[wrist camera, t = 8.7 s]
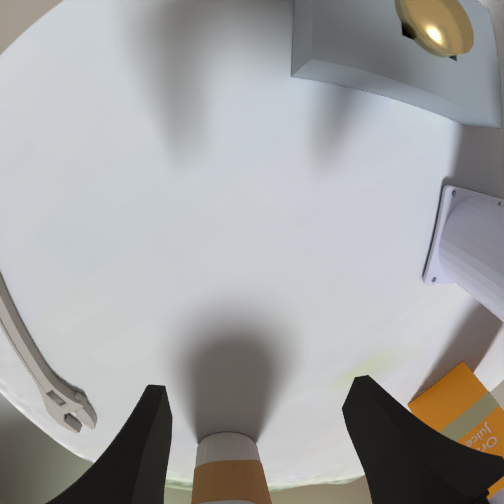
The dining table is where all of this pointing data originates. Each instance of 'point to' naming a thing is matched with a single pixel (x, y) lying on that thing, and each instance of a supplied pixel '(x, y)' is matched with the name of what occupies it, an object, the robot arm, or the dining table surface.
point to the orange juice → (464, 413)
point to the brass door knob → (436, 25)
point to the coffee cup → (229, 471)
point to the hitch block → (397, 58)
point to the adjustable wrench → (43, 371)
